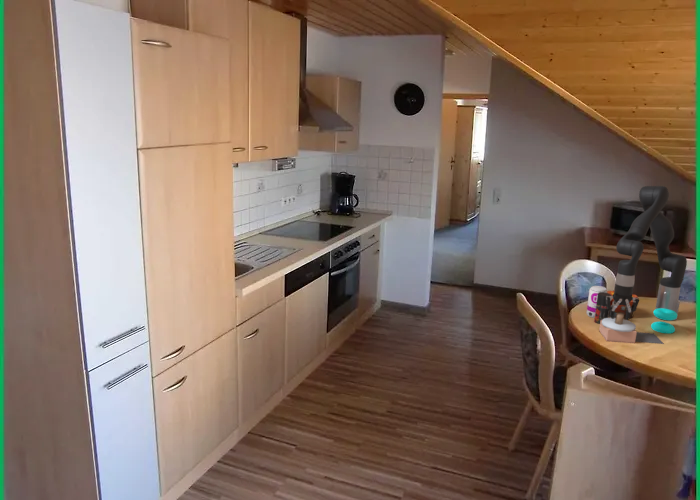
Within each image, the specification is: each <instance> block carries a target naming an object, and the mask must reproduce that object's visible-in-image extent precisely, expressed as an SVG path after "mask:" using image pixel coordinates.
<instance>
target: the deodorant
mask: <svg viewBox="0 0 700 500" xmlns="http://www.w3.org/2000/svg"><path fill="white" fill-rule="evenodd" d="M606 296H611V294H609V293H604V292H599V293H598V297H597V304H596V311H595V318H593V322H594V323H595V324H597V325H600V321H601V320H603V319H604V318H609V310H608V308H607V307H606ZM610 302H611V301H610Z"/></svg>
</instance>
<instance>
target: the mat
mask: <svg viewBox="0 0 700 500" xmlns="http://www.w3.org/2000/svg"><path fill="white" fill-rule="evenodd" d="M636 332H637V333H636V339H635V343H647V344H658V345H661V344H662V345H665V343H664V342H663V341H662V340H661V339H660V338H659V337H658V336H657V335H656V334H655V333H654V332H653V333H651V332H638V331H636Z"/></svg>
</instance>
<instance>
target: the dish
mask: <svg viewBox="0 0 700 500" xmlns="http://www.w3.org/2000/svg"><path fill="white" fill-rule="evenodd" d="M598 332H599V333H600V335H601V336H602V337H603V339H604V340H605V341H606V342H612V343H624V344H635V343H636V342H635V339H636V333H637V332H638V331H636V329H635V330H634V331H631V332H622V331H616V330H612V329H609V328H606V327H605V326H603V325H602V320H601V321H600V324H599V329H598Z"/></svg>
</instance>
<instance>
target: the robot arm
mask: <svg viewBox="0 0 700 500" xmlns="http://www.w3.org/2000/svg"><path fill="white" fill-rule="evenodd" d="M638 194H639V195H638V196H639V197H638V198H639V202H640V205H641V206H642V207H641V208H643V209H642V210H643V212H641V214H640V215H638V216H636V218H635V219H634V220H633V221H632V223H631V225H630V228H629V230H628V231H627V232H626V233H625V234H624V235H623V236H622V237H621V238H620V239H619V240H618V242H617V244H616V247H615V248H616V249H615V250H616V252H617V254H619V255H624V256H629V257H631V258H630V259H621V260H619V262H618V267H617V274H616V277H615V282H614V294H613V295H612V296H606V307H607V308H608V310H610V316H609V318H612V319H614V318H615V317H614V314H615V311H614V310H615V309H616V307H618V305H624V306H626V309H627V311H626V315H625V319H624V320H628V321H629V320H630V319H631V318H630V314H631V312H632V311H634V312H636V311H637V308H638V305H639V302H640V298H639V297H638V296H637V297H638V298H639V299H638V298H637V297H635V298H634V297H632V294H633V295H634V287H635V279H636V277H635V276H636V270H637V269H636V268H637V265H638V262H639V260H640V258H641V256H642V254H643V253H644V249H645V247H644V244H643V242H641V241H643V240H644V239H645V238H646V236H647V234H648V232H649V229H650V232H651V236H652V239H653V241H654V246H655V249H656V253H657V259H658V260H657V261H658V265H659V268H660V269H661V270H662V271H664V272H669V273H671V275H670V276H665V277H664V276H663V277H661V278H660V279H659V280H660V281H659V284H658V286H659V287H658V291H657V297H656V298H657V299H656V302H655V303H656V304H655V309H658V308H665V309H670V310H673V311H675V312H676V313H677V316H678V315H679V308H680V301H679V298H680V292H681V287H682V283H683V281H684V277H685V273H686V269H687V267H688V266H687V264H688V259H687V257H685V255H680V254H676V253H673V252H671V251H670V248H669V247H670V244H671V243H672V241H673V240H674V239H675V230H674V227H673V223H672V221H671V220H670V219H669V218H668V217H667V216H666V215H664V214H663V213H662V212H661V211H662V210H663V209H664V208H665V206H666V204H667V202H668V200H669V197H670V196H669V195H670V193H669V190H668V188H667V187H666V186H664V185H646V186H642V187H641V188H640V189H639V193H638ZM612 298H613V299H614V302H613V303H612V306H611V307H610V301H611V300H612ZM632 300H633V304H632V307H631V308H630V305H629V303H630V302H631V301H632ZM655 309H654V310H655ZM653 316H654V317H655V318H657V317H656V316H655V315H654V314H653ZM657 319H658V318H657ZM677 319H678V317H677V318H676V319H674V320H673V321H677ZM661 320H663V319H661ZM663 321H664V320H663ZM668 321H669V322H670V321H672V320H668Z"/></svg>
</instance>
